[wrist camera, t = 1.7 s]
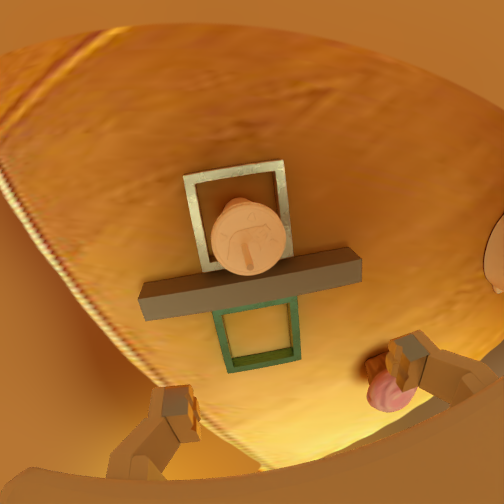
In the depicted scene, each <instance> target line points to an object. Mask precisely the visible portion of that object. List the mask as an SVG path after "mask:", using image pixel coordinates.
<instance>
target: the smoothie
mask: <svg viewBox="0 0 504 504" xmlns="http://www.w3.org/2000/svg"><path fill="white" fill-rule="evenodd" d="M285 244H286V233H285V229H284V226H283V224H282V222H281V220H280V218H279V217H278V215H277V214H276V213H275V212H274V211H273V210H272V209H271V208H269V207H267V206H265V205H263V204H260V203H255V202H251V201H250V200H248V199H246V198H242V197H238V198H234V199H232V200H230V201H229V202H228V203H227V204H226V205H225V207H224V210H223V212H222V214H221V215H220V216H219V217H218V218H217V220H216V222H215V224H214V225H213V228H212V233H211V245H212V249H213V253H214V255H215V257H216V259H217V260H218V262H219V263H220V264H221V265H222V266H223V267H224V268H225V269H227V270H228V271H230V272H232V273H235V274H238V275H245V276H249V275H256V274H260V273H263V272H265V271H267V270H268V269H270V268H271V267H272V266H274V265H275V264H276V263H277V262H278V260H279V259H280V257H281V256H282V254H283V251H284V249H285Z"/></svg>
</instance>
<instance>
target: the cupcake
mask: <svg viewBox="0 0 504 504" xmlns="http://www.w3.org/2000/svg"><path fill="white" fill-rule="evenodd" d="M387 354H388V352H385V353H382V354H380V355H378V356H376V357H373V358H370V359H368V360H367V361H366V363H365V367H366V370H367V375H368V381H369V385H370V386H369V388H368V392H367V400H368V402H369V404H370V405H371V406H372V407H374V408H376V409H378V410H380V411H383V412H394V411H397V410H400V409H402V408H403V407H405V406H406V405H407V404H408V403H409V402H410V400H411V399H412V397H413V396H414V394H415V392H416V390H417V387H416V388H413V389H410V390H408V391H405V392H402V391H401V390H400V388H399V387H398V386H397V384H396V383H395V382H396V378H395V377H393V376H391V375H390V374H389V372H388V370H387V368H386V362H385V361H386V355H387Z"/></svg>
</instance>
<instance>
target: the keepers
mask: <svg viewBox="0 0 504 504" xmlns="http://www.w3.org/2000/svg"><path fill="white" fill-rule="evenodd" d="M269 171H272V175H273V183H274V191H275V199H276V207H277V215H278V217H279V218H280V220H281V222H282V224H283V226H284V229H285V233H286V244H285V249H284V251H283V254H282V256H281V257H280V259H282V258H288V257H293V256H294V254H293V244H292V233H291V223H290V214H289V204H288V195H287V186H286V178H285V169H284V161H283V160H282V159H273V160H265V161H258V162H251V163H245V164H238V165H232V166H226V167H220V168H214V169H208V170H203V171H197V172H192V173H187V174H184V175H183V179H184V184H185V190H186V195H187V200H188V205H189V210H190V215H191V220H192V225H193V230H194V235H195V240H196V244H197V249H198V254H199V258H200V263H201V267H202V272H209V271H215V270H220V269H225V268H224V267H223V266H222V265H221V264H220V263H219V262H218V260H217V259H216V257H215V255H214V256H210V255H209V250H208V245H207V240H206V235H205V230H204V225H203V220H202V215H201V210H200V204H199V199H198V193H197V188H196V183H201V182H206V181H212V180H218V179H223V178H229V177H236V176H242V175H248V174H255V173H262V172H269ZM284 303H287V310H288V320H289V331H290V343H291V347H290V348H285V349H280V350H275V351H270V352H265V353H260V354H254V355H249V356H243V357H237V358H232V354H231V350H230V345H229V341H228V337H227V333H226V328H225V324H224V320H223V315H224V314H230V313H236V312H241V311H247V310H252V309H258V308H263V307H268V306H274V305H279V304H284ZM212 314H213V318H214V322H215V326H216V330H217V334H218V338H219V342H220V346H221V350H222V354H223V357H224V361H225V365H226V369H227V372H228V374H229V373H235V372H241V371H247V370H252V369H258V368H263V367H268V366H273V365H278V364H283V363H288V362H293V361H297V360H301V346H300V330H299V316H298V302H297V296H292V297H287V298H282V299H277V300H272V301H267V302H261V303H256V304H250V305H245V306H239V307H233V308H228V309H222V310H216V311H212Z"/></svg>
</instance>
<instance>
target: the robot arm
mask: <svg viewBox="0 0 504 504" xmlns="http://www.w3.org/2000/svg"><path fill="white" fill-rule="evenodd" d="M484 272H485V276H486V278H487V280H488V281H489V282H490V283H491V284H492V285H493V289H494V292H496V293H497V294H500V293H501V292H502V291H503V292H504V215H503V216H502V217H501V219H500V220H499V221H498V223H497V224H496V226H495V228H494V229H493V231H492V234H491V236H490V238H489V241H488V244H487V248H486V252H485V258H484ZM388 349H389V350H390V351H389V352H388V354H387V355H386V361H385V362H386V368H387V370H388V372H389V374H390V375H391V376H393V377H395V378H396V382H395V383H396V384H397V386H398V387H399V388H400V390H401V391H402V392H405V391H408V390H410V389H413V388H416V387H418V386H419V388H421V389H423V390H425V391H427V392H429V393H430V394H432V395H434V396H436V397H438V398H440V399H442V400H444V401H445V402H448V403H449V404H450V406H449V408H448V409H447V410H445V411H443V412H441V413H440V414H437V415H435V416H433V417H431V418H429V419H427V420H425V421H423V422H421V423H419V424H417V425H414V426H412V427H410V428H407V429H405V430H403V431H400V432H398V433H396V434H393V435H391V436H388V437H386V438H383V439H381V440H378V441H375V442H372V443H370V444H367V445H364V446H361V447H359V448H355V449H352V450H349V451H346V452H343V453H339V454H336V455H332V456H329V457H326V458H322V459H318V460H314V461H310V462H306V463H302V464H298V465H293V466H289V467H284V468H279V469H274V470H269V471H263V472H257V473H251V474H244V475H237V476H228V477H220V478H208V479H196V480H172V481H171V480H170V481H167V480H166V479H165V477H164V476H163V475H162V474H161V473H162V472H163V470H164V469H165V467H166V466H167V464H168V463H169V461H170V460H171V458H172V457H173V455H174V454H175V452H176V451H177V449H178V448H179V446H180V443H188V442H197V441H201V428H200V425H199V423H198V422H199V421H200V420H201V417H200V408H199V404H198V401H197V398H196V397H194V396H193V388H192V386H191V385H190V384H189V385H178V386H166V387H154V388H153V390H152V395H151V401H150V407H149V414H148V418H144V419H143V421H141V423H140V424H139V425H138V426H137V427H136V428H135V429H134V430H133V431H132V432H131V433H130V434H129V435H128V436H127V437H126V438H125V439H124V440H123V442H121V444H120V445H119V446H118V447H117V448H116V449H115V450H114V451H113V452H112V453H111V454H110V458H109V464H108V469H107V474H106V478H98V477H97V478H96V477H89V476H81V475H74V474H68V473H62V472H56V471H51V470H46V469H41V468H37V467H29V468H27V469H25V470H24V471H22V472H21V473H20V474H18V475H17V476H15V477H14V478H13V479H12V480H10V481H9V482H8V483H7V484H6V485H5V486H4V488H3V490H2V491H1V493H0V504H504V376H503V377H501V378H498V377H497V376H496V374H495V373H494V372H493V371H492V370H491V369H490V368H489V367H488V366H487V365H486V364H485V363H483V362H480V361H476V360H473V359H470V358H467V357H464V356H461V355H458V354H455V353H452V352H449V351H446V350H439V349H438V348H437V347H436V345H435V344H434V343H433V342H432V341H431V340H430V339H429V338H428V337H427V336H426V335H425V334H424V333H423V332H422V331H421V330H417V331H415V332H412V333H409V334H406V335H403V336H401V337H398V338H395V339H392V340H390V341H389V343H388Z"/></svg>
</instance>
